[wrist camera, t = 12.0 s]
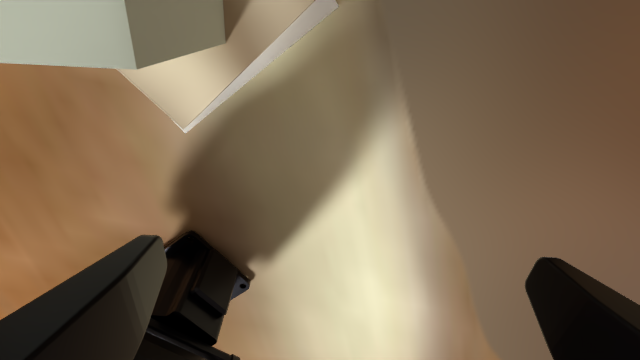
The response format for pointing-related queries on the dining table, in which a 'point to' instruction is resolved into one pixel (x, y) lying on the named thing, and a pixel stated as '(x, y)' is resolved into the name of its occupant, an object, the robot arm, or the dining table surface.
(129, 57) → the sage block
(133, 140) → the dining table surface
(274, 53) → the base slab
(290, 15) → the birch slab
